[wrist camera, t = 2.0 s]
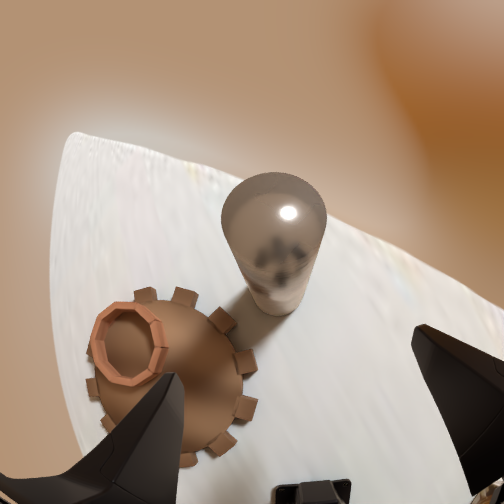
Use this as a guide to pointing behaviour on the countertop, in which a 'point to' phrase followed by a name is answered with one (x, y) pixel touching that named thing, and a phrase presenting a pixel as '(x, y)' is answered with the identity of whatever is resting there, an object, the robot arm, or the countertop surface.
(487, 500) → the coffee box
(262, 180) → the drive pin
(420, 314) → the countertop surface
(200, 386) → the sprocket
